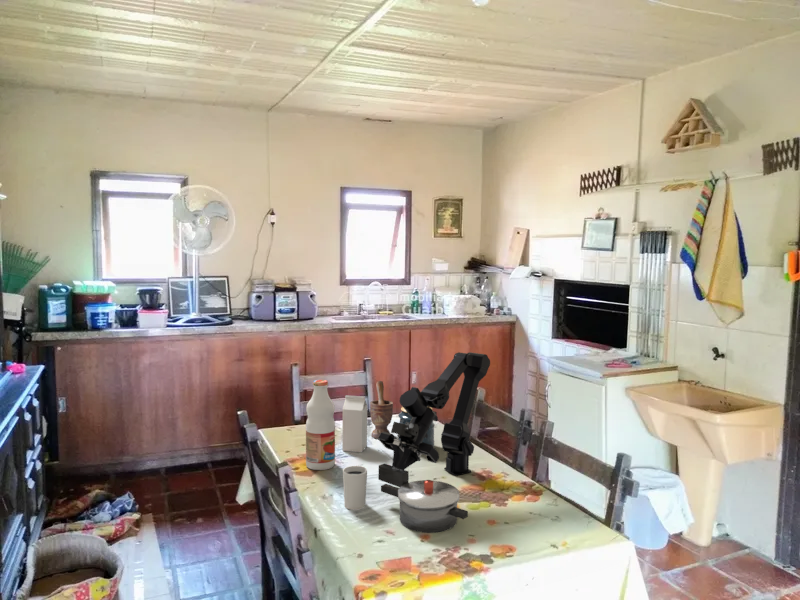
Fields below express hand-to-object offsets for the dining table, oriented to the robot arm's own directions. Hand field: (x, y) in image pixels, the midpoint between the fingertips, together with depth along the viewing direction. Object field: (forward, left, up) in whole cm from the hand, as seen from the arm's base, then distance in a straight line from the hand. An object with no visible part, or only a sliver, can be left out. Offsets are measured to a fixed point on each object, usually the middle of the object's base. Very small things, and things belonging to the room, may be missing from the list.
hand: (394, 473), depth 165 cm
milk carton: (-10, -46, -9) cm, 48 cm away
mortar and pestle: (-25, -56, -9) cm, 62 cm away
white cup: (+10, -3, -9) cm, 14 cm away
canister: (-30, -37, -9) cm, 49 cm away
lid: (-2, +9, -2) cm, 9 cm away
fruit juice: (+7, -36, -9) cm, 38 cm away
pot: (-2, +11, -8) cm, 14 cm away
